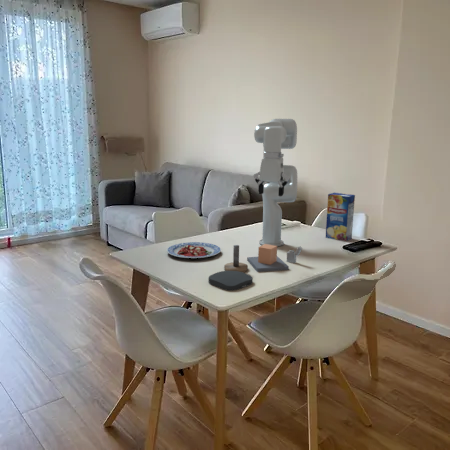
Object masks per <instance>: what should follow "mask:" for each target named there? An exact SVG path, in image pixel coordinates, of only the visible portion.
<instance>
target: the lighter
mask: <svg viewBox="0 0 450 450" xmlns="http://www.w3.org/2000/svg"><path fill="white" fill-rule="evenodd" d="M302 250H303V247H302V246H298V247H297V249H296V251H295V250H290V249H289V251H287V252H286V262H287V263H292V264H296V263H297V257H298V256H299V255H300V253H301V252H302Z"/></svg>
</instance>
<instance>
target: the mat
mask: <svg viewBox="0 0 450 450" xmlns="http://www.w3.org/2000/svg"><path fill="white" fill-rule="evenodd" d="M246 261H247V262H248V263H249V264H250V266H251V267H253V269H254V270H255V271H256V273H257V272H258V273H260V272H274V271H276V272H277V271H288V270H289V269H290V267H289V265H288V264H287V263H286V262H285V261H283V260H282V259H281V258H280V257H279V256H277V261H276V262H274V263H273V264H271V265H269V264H264V263H259V262H258V256H250V257H249V256H248V257H247V259H246Z"/></svg>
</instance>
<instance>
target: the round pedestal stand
mask: <svg viewBox="0 0 450 450" xmlns="http://www.w3.org/2000/svg"><path fill="white" fill-rule="evenodd" d="M232 261H233V262H228V263H225V264H224V267H223V268H224V270H223V271H239V272H243V273H246V272H248V270H249V266H248V264H246V263H243V262H240V245H239V244H234V245H233V259H232Z"/></svg>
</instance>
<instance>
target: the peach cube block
mask: <svg viewBox="0 0 450 450" xmlns="http://www.w3.org/2000/svg"><path fill="white" fill-rule="evenodd" d="M277 253H278V246H274V245H268V244H264V245H260V246H258V252H257V255H258V256H257V257H258V262H259V263H264V264H269V265H271V264H273V263H274V262H276V261H277V257H278V254H277Z"/></svg>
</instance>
